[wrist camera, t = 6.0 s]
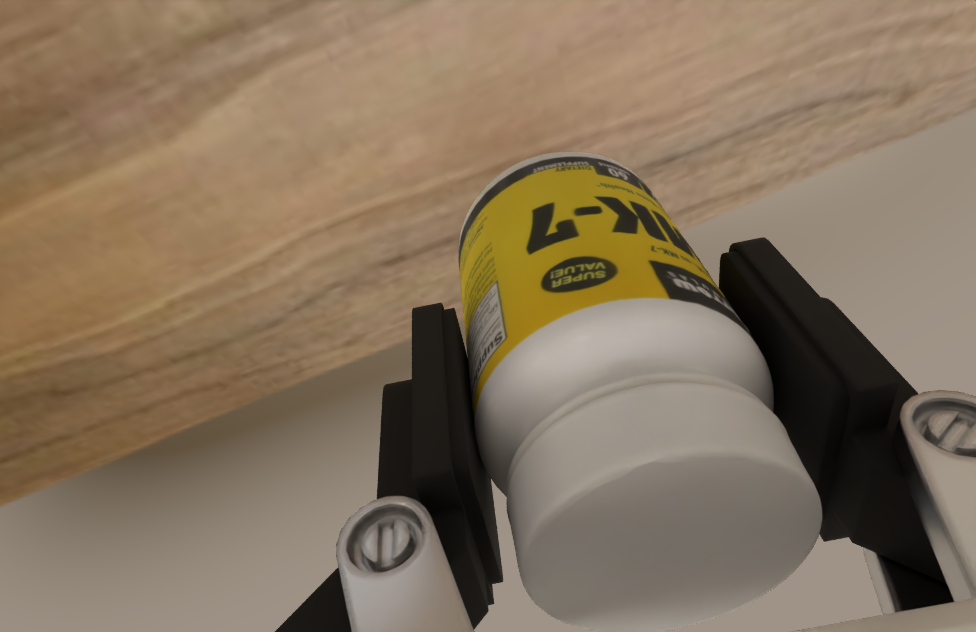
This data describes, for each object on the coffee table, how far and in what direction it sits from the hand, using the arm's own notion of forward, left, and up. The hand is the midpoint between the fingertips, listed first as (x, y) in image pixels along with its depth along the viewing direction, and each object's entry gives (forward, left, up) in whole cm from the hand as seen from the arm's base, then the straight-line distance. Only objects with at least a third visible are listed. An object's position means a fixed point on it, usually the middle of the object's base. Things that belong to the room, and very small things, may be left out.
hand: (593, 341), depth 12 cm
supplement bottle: (0, 0, -4) cm, 4 cm away
